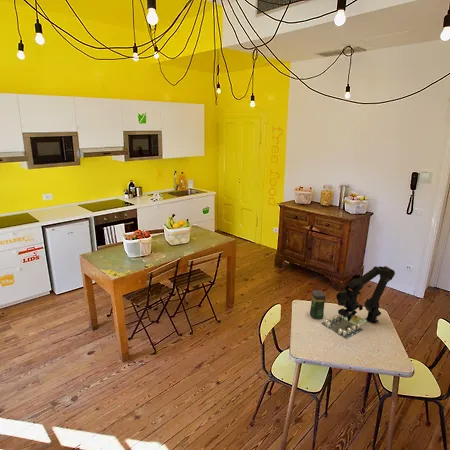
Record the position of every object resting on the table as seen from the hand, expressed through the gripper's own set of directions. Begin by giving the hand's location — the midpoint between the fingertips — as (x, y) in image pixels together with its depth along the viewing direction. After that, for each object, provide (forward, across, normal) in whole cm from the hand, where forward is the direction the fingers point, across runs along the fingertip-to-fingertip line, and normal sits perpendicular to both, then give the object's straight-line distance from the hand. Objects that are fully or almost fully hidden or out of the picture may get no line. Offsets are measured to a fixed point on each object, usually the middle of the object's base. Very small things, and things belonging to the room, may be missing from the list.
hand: (348, 320), depth 225 cm
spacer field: (+3, +7, 0) cm, 7 cm away
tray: (+2, -7, 0) cm, 7 cm away
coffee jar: (+3, +11, -18) cm, 21 cm away
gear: (+2, -7, 0) cm, 8 cm away
